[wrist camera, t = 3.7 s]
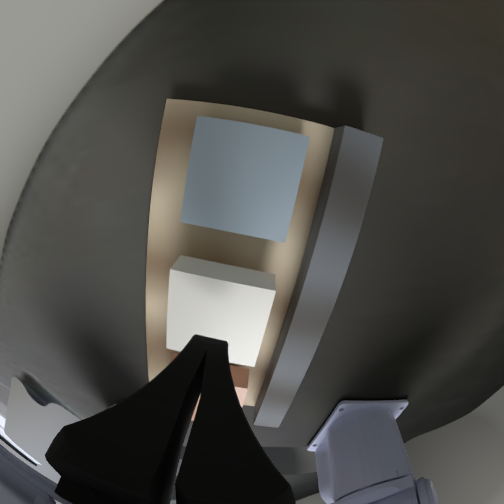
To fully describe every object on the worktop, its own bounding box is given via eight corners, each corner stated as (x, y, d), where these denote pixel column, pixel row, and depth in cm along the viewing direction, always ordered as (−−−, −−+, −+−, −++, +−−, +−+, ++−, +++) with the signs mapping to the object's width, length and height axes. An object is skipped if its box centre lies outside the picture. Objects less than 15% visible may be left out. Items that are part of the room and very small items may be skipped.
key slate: (282, 231, 15) (285, 243, 13) (190, 213, 14) (180, 222, 13) (304, 138, 13) (309, 136, 11) (205, 119, 13) (197, 115, 11)
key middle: (255, 346, 16) (254, 366, 14) (174, 329, 16) (166, 348, 14) (274, 274, 14) (276, 290, 13) (180, 254, 14) (169, 269, 13)
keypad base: (277, 400, 21) (278, 427, 19) (152, 375, 21) (141, 400, 18) (362, 139, 14) (383, 138, 11) (172, 101, 14) (152, 92, 11)
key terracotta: (237, 410, 19) (235, 428, 17) (173, 397, 19) (167, 414, 17) (249, 368, 17) (247, 388, 15) (173, 352, 17) (166, 371, 15)
